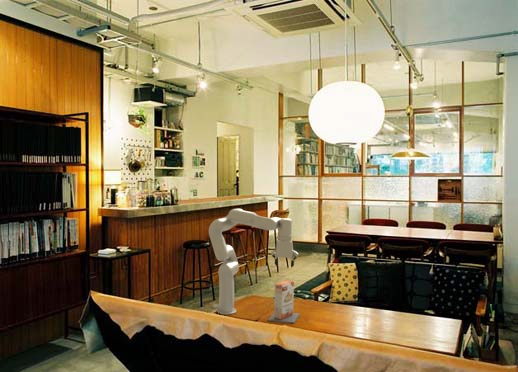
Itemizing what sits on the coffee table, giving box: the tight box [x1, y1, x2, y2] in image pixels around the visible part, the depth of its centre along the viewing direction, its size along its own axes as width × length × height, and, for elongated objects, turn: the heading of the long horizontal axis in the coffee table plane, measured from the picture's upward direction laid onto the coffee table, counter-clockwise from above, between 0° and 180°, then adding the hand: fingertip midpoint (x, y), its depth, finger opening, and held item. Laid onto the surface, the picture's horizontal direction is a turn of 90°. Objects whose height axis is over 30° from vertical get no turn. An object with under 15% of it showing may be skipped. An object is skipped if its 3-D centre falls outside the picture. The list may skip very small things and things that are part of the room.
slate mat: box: [267, 312, 301, 325], centre depth 268 cm, size 16×18×1 cm
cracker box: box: [273, 279, 295, 320], centre depth 268 cm, size 14×6×21 cm, turn 145°
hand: (284, 266), depth 268 cm, fingers open, 9 cm apart
